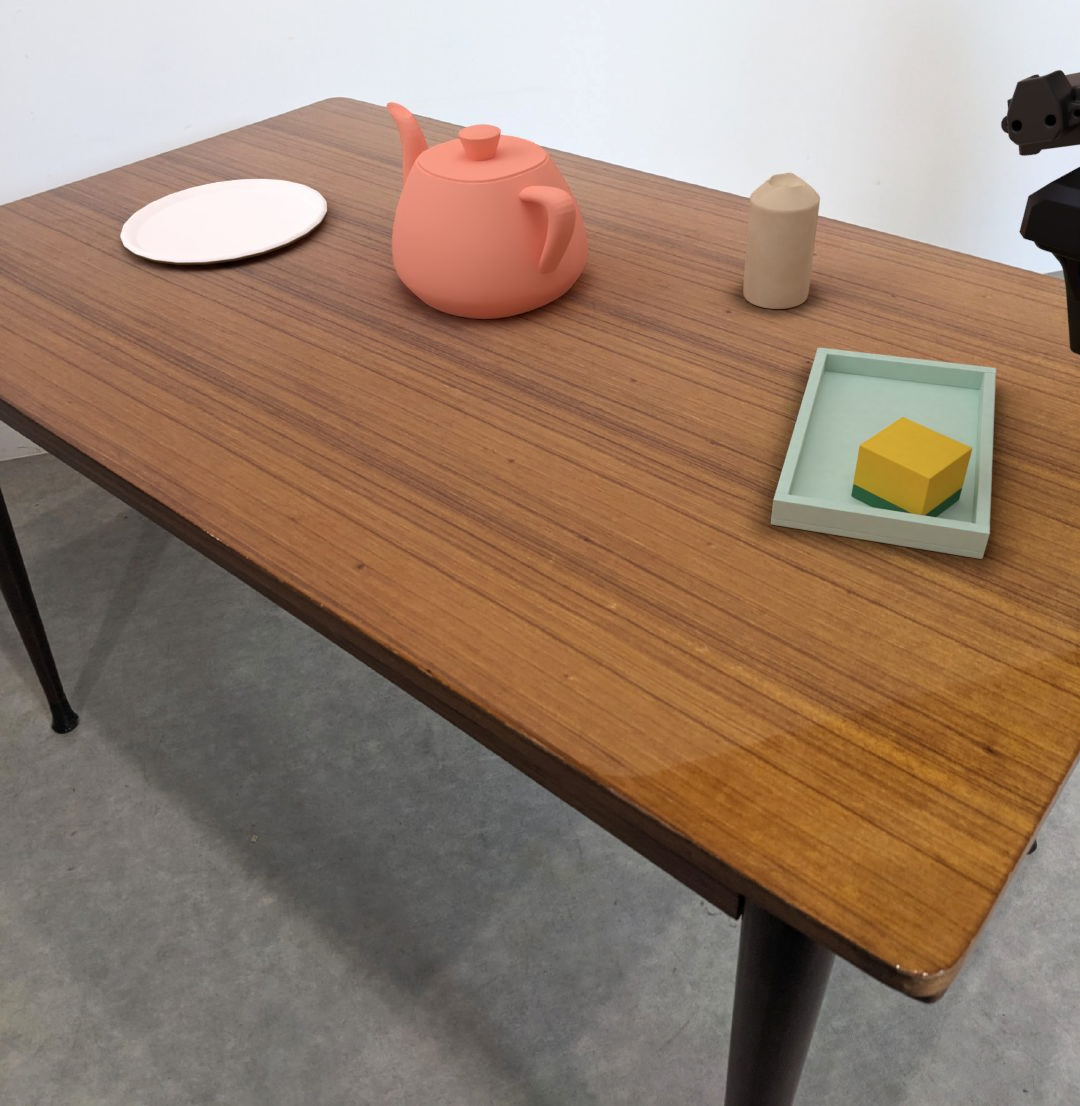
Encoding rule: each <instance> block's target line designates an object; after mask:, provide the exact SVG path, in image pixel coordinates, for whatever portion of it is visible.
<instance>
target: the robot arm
mask: <svg viewBox="0 0 1080 1106" xmlns="http://www.w3.org/2000/svg"><path fill="white" fill-rule="evenodd" d="M1006 102H1007V112H1006V115H1005V116H1004V117H1003V118H1002V119H1001V122H1000V127H1001V130H1002V131H1003V132H1004V133H1006V134H1008V139H1009V140H1010V141H1011V142H1012V143H1013V144H1015V145H1016V146H1018V154H1019V155H1020V156H1022V157H1023V156H1024V157H1026V156H1027V157H1028V156H1035V155H1038V154H1040V153H1041V152H1042V151H1043V150H1044V151H1045V150H1052V149H1057V148H1059V149H1060V148H1066V147H1073V146H1080V72H1075V73H1068V74H1065V72H1064V71H1063V70H1061V69H1058V70H1057V69H1056V70H1054V71H1052V72H1049V73H1048V74H1047V73H1046V74H1044V75H1041V76H1040V75H1039V74H1038V73H1037V74H1032V75H1030V76H1028V77H1025V78H1023V79H1021V80H1018V81H1017V82H1016V85H1015V88H1014V91H1013V94H1012V97H1011V98H1009V99H1007V101H1006ZM1018 232H1019V234H1020V235H1021V237H1022V239H1024V240H1026V241H1027V240H1028V241H1030V242H1033V243H1034V245H1035V246H1036V248H1038V249H1040V250H1042V251H1044V252H1047V253H1050V254H1052V255H1053V257H1054V258H1055V259H1056V260H1057V261H1058V263H1059V265H1060V266H1061V268H1062V275H1063V280H1064V286H1065V295H1066V296H1065V297H1066V310H1067V311H1066V312H1067V325H1068V342H1069V350H1070V351H1071V353H1074V354H1076V355H1078V356H1080V166H1078V167H1076V168H1074V169H1073V170H1070V171H1069V172H1067V173H1065V174H1064V175H1061V176H1060V177H1057V178H1056V179H1054V180H1052V181H1050V182H1048V183H1047V184H1045V185H1044V186H1042V187H1041V188H1039V189H1037V190H1036V191H1034V192H1032V193H1031V194H1029V195H1028V196H1027V199H1026V204H1025V208H1024V212H1023V215H1022V220H1021V224H1020V228H1019V231H1018Z"/></svg>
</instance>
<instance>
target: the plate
mask: <svg viewBox="0 0 1080 1106" xmlns="http://www.w3.org/2000/svg"><path fill="white" fill-rule="evenodd" d="M327 201H328V200H326V199H325V198H324V196H323V195H322V194H321V193H320V192H319V191H318V190H316V189H313V188H311V187H310V186H308V185H306V184H302V183H299V182H294V181H290V180H285V179H284V180H283V179H273V178H244V179H243V178H242V179H241V178H240V179H233V180H224V181H217V182H211V183H207V184H202V185H196V186H192V187H190V188H185V189H183V190H179V191H176V192H173V193H170V194H166V196H163V197H161V198H158V199H156V200H154V201H152V202H150V203H148V204H146V205H145V206H144V207H141V208H140V209H138V210H137V211H136V212H134V213H133V214H132V215H131V216H130V217H129V218H128V219H127V220H126V221H125V222H124V224H123V225H122V228H121V232H120V235H119V236H120V240H121V242H122V244H123V247H124V248H125V249H126V250H128V251H129V252H130V253H131V254H133V255H135V256H136V257H138V258H141V259H145V260H148V261H150V262H154V263H159V264H168V265H176V266H196V265H199V266H203V265H214V264H215V265H216V264H222V263H229V262H231V263H232V262H237V261H241V260H245V259H249V258H254V257H258V256H263V255H265V254H268V253H271V252H274V251H277V250H280V249H282V248H285V247H288V246H290V245H292V244H294V243H295V242H297V241H299V240H302V239H303V238H305V237H307V236H308V235H310V234H311V232H313V231H314V230H315V229H317V228H318V227H319V226H320V225H321V224H322V223H323V221H324V219H325V218H326V216H327V214H328V204H327Z"/></svg>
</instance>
